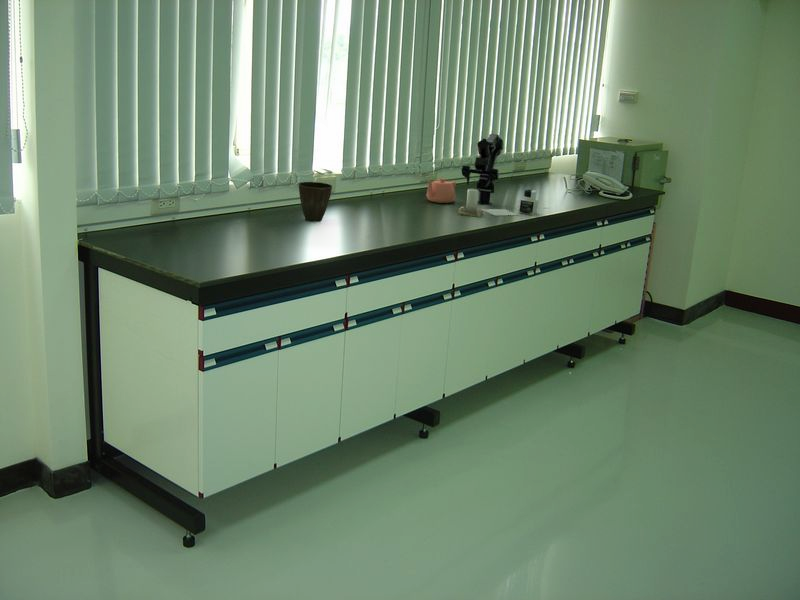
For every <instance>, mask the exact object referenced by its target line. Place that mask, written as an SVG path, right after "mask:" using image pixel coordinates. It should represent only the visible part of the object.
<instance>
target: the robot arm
mask: <svg viewBox="0 0 800 600" xmlns="http://www.w3.org/2000/svg"><path fill="white" fill-rule="evenodd" d="M503 150H504V140H503V139H502V138H501V137H500V135H499V134H495V133H491V134H489V136H488V138H482V140H479V141H478V142H477V154H478V157H477V156H476V157H475V159H474V168H471V165H466V164H465V165H464V164H463V165H462V166H461V168H460V169H461V175H462V176H463V177H464V178H466V184H467V186H469V185H470V179H471V174H476V175H477V174H478V175H479V177H478V179H477V182H476V189H477V190H479V192H478V202H477V204H480V205H493V202H490V201H491V194H494V193H495V184H494V182H495V181H497V180H499V178H500V174H499V169H497V168H495V165H496V161H497V159H498V157H499V156H500V155H501V154H502V151H503Z"/></svg>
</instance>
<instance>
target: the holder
mask: <svg viewBox="0 0 800 600" xmlns="http://www.w3.org/2000/svg"><path fill="white" fill-rule="evenodd" d="M483 212H484V211H483V208H480V209H479V210H477V211H473V210H466V208H465V206H461V207H459V208H458V209H457V215H461V214H463V216H471V217H477V216H478V217H481V216H482V215H483V214H484V213H483Z"/></svg>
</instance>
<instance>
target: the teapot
mask: <svg viewBox="0 0 800 600" xmlns="http://www.w3.org/2000/svg"><path fill="white" fill-rule="evenodd" d="M426 182H427V191H426V198H427V199H428V200H429V201H430V202H433V203H438V204H448V203H449V204H450V203H453V202H454V201H455V200H456V191H455V189H456V186H457V182H456V181H451V182H450V181H446V178H444V177H443V178H442V177H441V178H440V177H439V180H434V181H430V180H426Z"/></svg>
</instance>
